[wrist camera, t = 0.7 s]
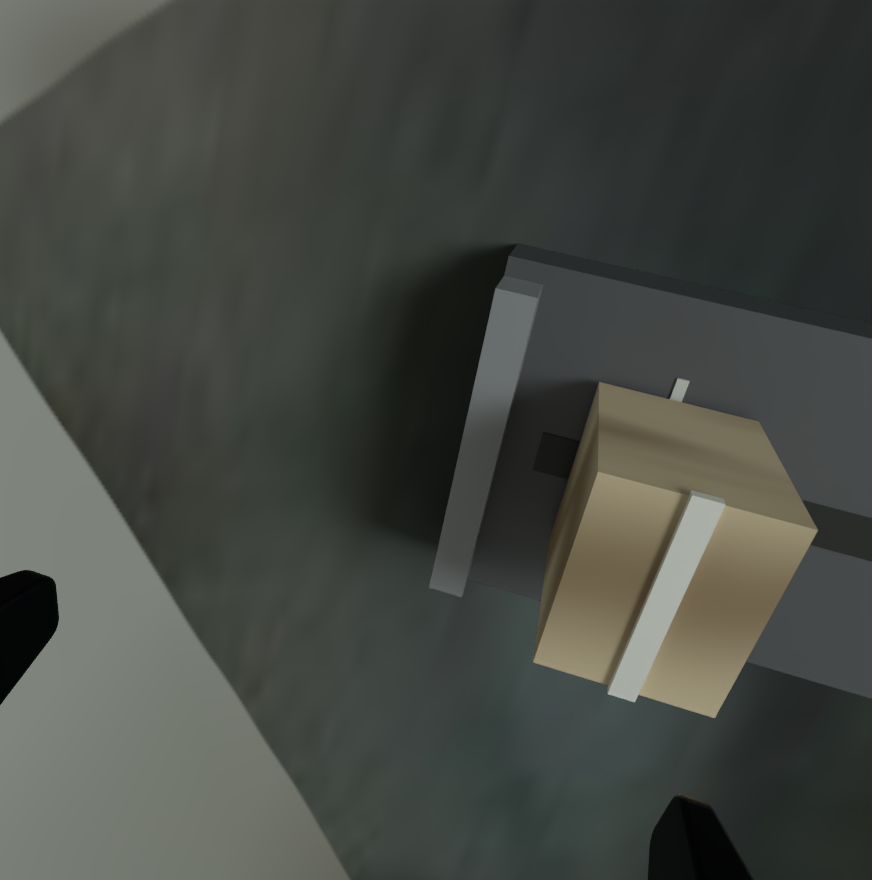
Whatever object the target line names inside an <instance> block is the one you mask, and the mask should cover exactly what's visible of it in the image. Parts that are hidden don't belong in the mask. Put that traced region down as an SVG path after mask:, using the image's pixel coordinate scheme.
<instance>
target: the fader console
mask: <svg viewBox="0 0 872 880" xmlns="http://www.w3.org/2000/svg"><path fill="white" fill-rule="evenodd" d="M599 382H602V383H606V384H610V385H614V386H618V387H622V388H626V389H630V390H634V391H638V392H642V393H646V394H650V395H654V396H658V397H662V398H666V399H670V400H674V401H678V402H682V403H686V404H690V405H694V406H698V407H702V408H706V409H710V410H714V411H718V412H722V413H726V414H730V415H734V416H739V417H743V418H747V419H751V420H755V421H759V423H760V425H761V426H762V428H763V430H764V432H765V434H766V436H767V437H768V439H769V441H770V443H771V445H772V447H773V448H774V450H775V452H776V454H777V456H778V458H779V459H780V461H781V463H782V465H783V467H784V469H785V470H786V472H787V474H788V476H789V478H790V480H791V481H792V483H793V485H794V487H795V489H796V491H797V493H798V494H799V496H800V498H801V500H802V502H803V504H804V505H805V507H806V509H807V511H808V513H809V515H810V516H811V518H812V520H813V522H814V524H815V526H816V527H817V529H818V531H817V533H816V535H815V537H814V539H813V540H812V542H811V544H810V546H809V548H808V549H807V551H806V553H805V555H804V557H803V559H802V560H801V562H800V564H799V566H798V568H797V569H796V571H795V573H794V575H793V577H792V579H791V580H790V582H789V584H788V586H787V588H786V589H785V591H784V593H783V595H782V597H781V599H780V600H779V602H778V604H777V606H776V608H775V609H774V611H773V613H772V615H771V617H770V618H769V620H768V622H767V624H766V626H765V628H764V629H763V631H762V633H761V635H760V637H759V638H758V640H757V642H756V644H755V646H754V648H753V649H752V651H751V653H750V655H749V657H748V658H747V660H746V662H749V663H753V664H756V665H759V666H763V667H766V668H770V669H773V670H776V671H780V672H783V673H787V674H790V675H793V676H797V677H800V678H804V679H807V680H810V681H814V682H817V683H820V684H824V685H827V686H831V687H834V688H837V689H841V690H844V691H848V692H851V693H854V694H858V695H861V696H865V697H868V698H871V699H872V324H871V323H867V322H862V321H858V320H854V319H849V318H845V317H840V316H836V315H831V314H827V313H823V312H818V311H814V310H809V309H805V308H800V307H796V306H792V305H787V304H783V303H778V302H774V301H769V300H765V299H761V298H756V297H752V296H747V295H743V294H738V293H734V292H730V291H725V290H721V289H716V288H712V287H707V286H703V285H699V284H694V283H690V282H685V281H681V280H676V279H672V278H668V277H663V276H659V275H654V274H650V273H645V272H641V271H637V270H632V269H628V268H623V267H619V266H615V265H610V264H606V263H601V262H597V261H592V260H588V259H584V258H579V257H575V256H570V255H566V254H561V253H557V252H553V251H548V250H544V249H539V248H535V247H530V246H526V245H522V244H517V246H516V247H515V248H514V249H513V251H512V252H511V253H510V255H509V257H508V261H507V265H506V270H505V274H504V277H503V278H502V280H501V281H500V282H499V284H498V285H497V287H496V288H495V293H494V297H493V302H492V306H491V311H490V315H489V320H488V324H487V329H486V333H485V338H484V342H483V347H482V351H481V356H480V360H479V365H478V369H477V374H476V378H475V383H474V387H473V392H472V396H471V401H470V405H469V410H468V414H467V419H466V423H465V428H464V432H463V437H462V441H461V446H460V450H459V455H458V459H457V464H456V469H455V473H454V478H453V482H452V487H451V491H450V496H449V500H448V505H447V509H446V514H445V518H444V523H443V527H442V532H441V536H440V541H439V545H438V550H437V554H436V559H435V563H434V568H433V572H432V577H431V581H430V586H429V588H432V589H436V590H439V591H442V592H446V593H449V594H452V595H456V596H459V597H462V595H463V592H464V588H465V585H466V582H467V579H468V580H471V581H475V582H478V583H482V584H485V585H488V586H492V587H495V588H498V589H502V590H505V591H509V592H512V593H515V594H519V595H522V596H526V597H529V598H532V599H536V600H539V601H541V598H542V590H543V582H544V575H545V567H546V560H547V552H548V544H549V538H550V535H551V532H552V528H553V525H554V522H555V519H556V516H557V513H558V510H559V506H560V503H561V500H562V497H563V494H564V491H565V488H566V484H567V481H568V478H569V475H570V472H571V469H572V466H573V462H574V459H575V456H576V453H577V450H578V447H579V444H580V440H581V437H582V434H583V431H584V428H585V425H586V422H587V418H588V415H589V412H590V409H591V406H592V403H593V400H594V396H595V393H596V390H597V387H598V384H599Z"/></svg>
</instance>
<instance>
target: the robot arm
mask: <svg viewBox="0 0 872 880" xmlns="http://www.w3.org/2000/svg"><path fill="white" fill-rule="evenodd" d="M58 614H59V613H58V603H57V592H56V584H55V582H54V580H53V579H52V578H50V577H48V576H45V575H42V574H40V573H36V572H34V571H29V570H23V571H19V572H16V573H13V574H10V575H7V576H4V577H1V578H0V705H1V703H2V702H3V700H4V699H5V698H6V697H7V695H8V694H9V693H10V691H11V690H12V689H13V687H14V686H15V685H16V683H17V682H18V681H19V680H20V678H21V677H22V676H23V674H24V673H25V672H26V670H27V669H28V668H29V666H30V665H31V664H32V662H33V661H34V660H35V659H36V657H37V656H38V655H39V653H40V652H41V651H42V649H43V648H44V647H45V645H46V644H47V643H48V641H49V640H50V639H51V637H52V636H53V634H54V633H55V631H56V628H57V625H58V621H59V615H58ZM648 880H754V879H753V877H752V875H751V874H750V872H749V870H748V868H747V867H746V865H745V863H744V861H743V860H742V858H741V856H740V854H739V853H738V851H737V849H736V847H735V846H734V844H733V842H732V840H731V839H730V837H729V835H728V833H727V832H726V830H725V828H724V826H723V825H722V823H721V821H720V819H719V818H718V816H717V814H716V813H715V811H714V809H713V808H712V807H711V806H710V805H709V804H708V803H706V802H704V801H701V800H698V799H695V798H692V797H690V796H687V795H684V794H677V795H676V796H674V797H673V799H672V800H671V802H670V803H669V805H668V807H667V808H666V810H665V812H664V813H663V815H662V816H661V818H660V820H659V821H658V823H657V825H656V826H655V828H654V830H653V833H652V836H651V841H650V849H649V867H648Z"/></svg>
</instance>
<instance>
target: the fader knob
mask: <svg viewBox="0 0 872 880" xmlns="http://www.w3.org/2000/svg"><path fill="white" fill-rule="evenodd" d="M817 531H818V529H817V527H816V526H815V524H814V522H813V520H812V518H811V516H810V515H809V513H808V511H807V509H806V507H805V505H804V504H803V502H802V500H801V498H800V496H799V494H798V493H797V491H796V489H795V487H794V485H793V483H792V481H791V480H790V478H789V476H788V474H787V472H786V470H785V469H784V467H783V465H782V463H781V461H780V459H779V458H778V456H777V454H776V452H775V450H774V448H773V447H772V445H771V443H770V441H769V439H768V437H767V436H766V434H765V432H764V430H763V428H762V426H761V425H760V423H759V421H755V420H751V419H747V418H743V417H739V416H734V415H730V414H726V413H722V412H718V411H714V410H710V409H706V408H702V407H698V406H694V405H690V404H686V403H682V402H678V401H674V400H670V399H666V398H662V397H658V396H654V395H650V394H646V393H642V392H638V391H634V390H630V389H626V388H622V387H618V386H614V385H610V384H606V383H602V382H599V384H598V387H597V390H596V393H595V396H594V400H593V403H592V406H591V409H590V412H589V415H588V418H587V422H586V425H585V428H584V431H583V434H582V437H581V440H580V444H579V447H578V450H577V453H576V456H575V459H574V462H573V466H572V469H571V472H570V475H569V478H568V481H567V484H566V488H565V491H564V494H563V497H562V500H561V503H560V506H559V510H558V513H557V516H556V519H555V522H554V525H553V528H552V532H551V535H550V538H549V544H548V552H547V560H546V567H545V575H544V582H543V590H542V598H541V605H540V613H539V621H538V628H537V636H536V644H535V651H534V659H533V662H534V663H537V664H540V665H544V666H547V667H550V668H553V669H557V670H560V671H563V672H566V673H570V674H573V675H576V676H579V677H583V678H586V679H589V680H592V681H596V682H599V683H602V684H605V685H608V687H607V694H609V695H613V696H616V697H619V698H622V699H626V700H629V701H632V702H635V701H636V699H637V696H638V695H641V696H644V697H648V698H651V699H654V700H657V701H661V702H664V703H667V704H670V705H674V706H677V707H680V708H683V709H687V710H690V711H693V712H696V713H700V714H703V715H706V716H709V717H713V718H715V717H716V715H717V713H718V711H719V709H720V708H721V706H722V704H723V702H724V700H725V698H726V697H727V695H728V693H729V691H730V689H731V688H732V686H733V684H734V682H735V680H736V678H737V677H738V675H739V673H740V671H741V669H742V668H743V666H744V664H745V662H746V660H747V658H748V657H749V655H750V653H751V651H752V649H753V648H754V646H755V644H756V642H757V640H758V638H759V637H760V635H761V633H762V631H763V629H764V628H765V626H766V624H767V622H768V620H769V618H770V617H771V615H772V613H773V611H774V609H775V608H776V606H777V604H778V602H779V600H780V599H781V597H782V595H783V593H784V591H785V589H786V588H787V586H788V584H789V582H790V580H791V579H792V577H793V575H794V573H795V571H796V569H797V568H798V566H799V564H800V562H801V560H802V559H803V557H804V555H805V553H806V551H807V549H808V548H809V546H810V544H811V542H812V540H813V539H814V537H815V535H816V533H817Z"/></svg>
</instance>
